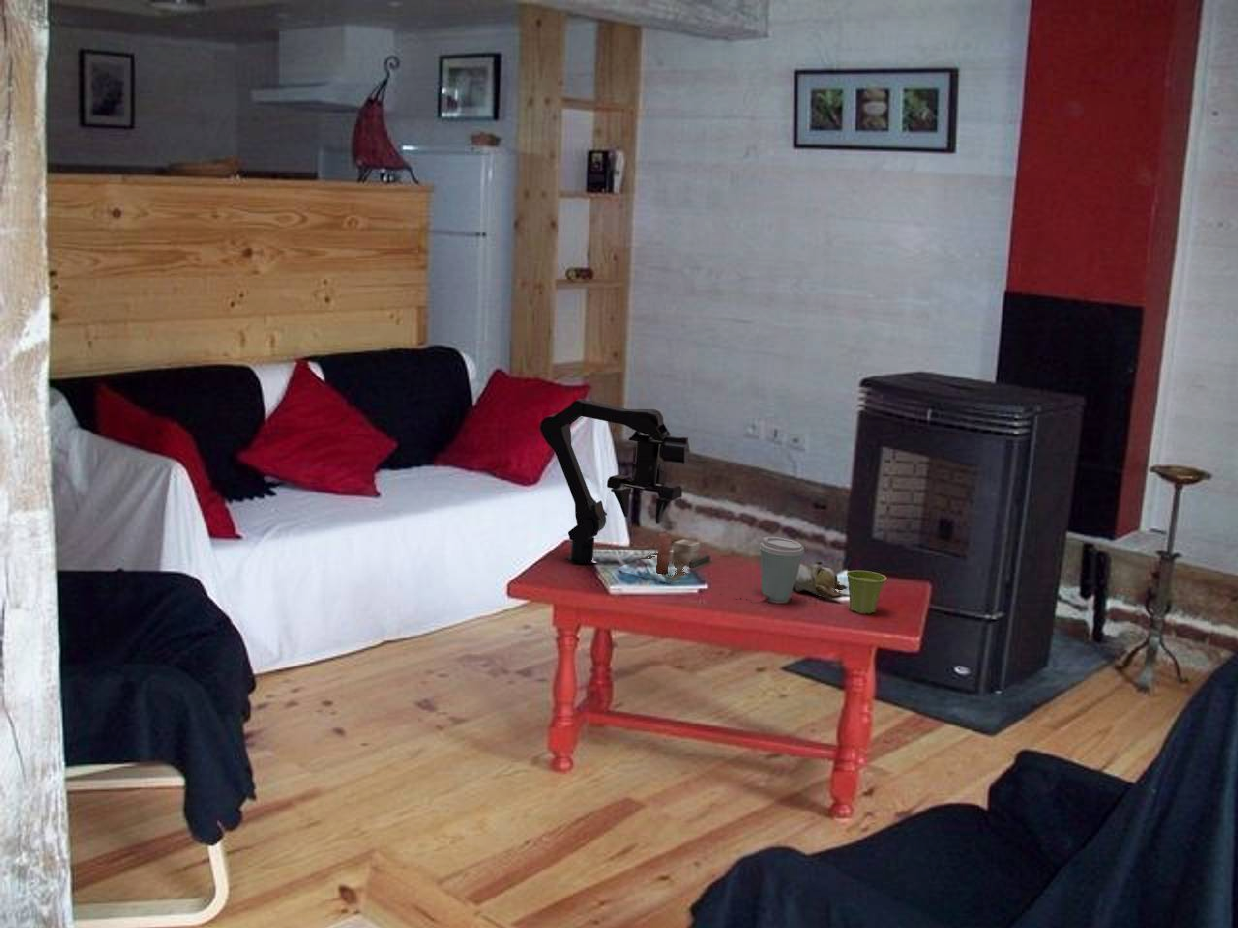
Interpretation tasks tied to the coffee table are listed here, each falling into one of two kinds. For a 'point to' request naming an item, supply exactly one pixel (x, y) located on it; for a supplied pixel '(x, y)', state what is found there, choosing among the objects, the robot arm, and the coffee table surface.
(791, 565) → the disposable coffee cup
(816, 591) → the ceramic sculpture
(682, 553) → the pale ash cube
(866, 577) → the plant pot
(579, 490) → the robot arm
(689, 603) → the coffee table surface
